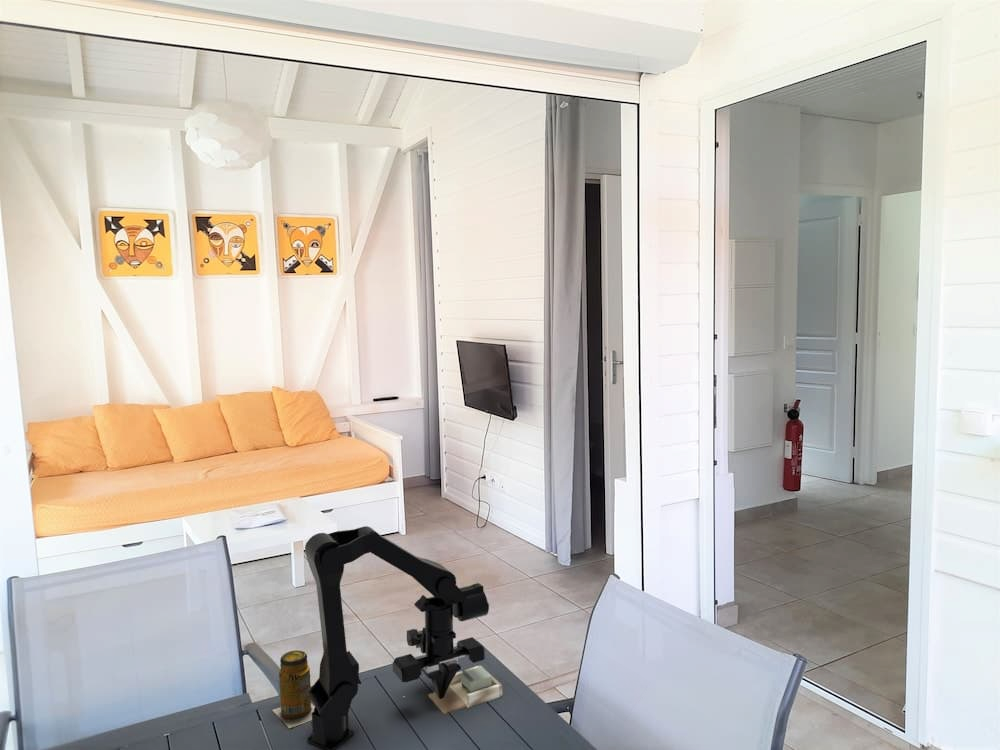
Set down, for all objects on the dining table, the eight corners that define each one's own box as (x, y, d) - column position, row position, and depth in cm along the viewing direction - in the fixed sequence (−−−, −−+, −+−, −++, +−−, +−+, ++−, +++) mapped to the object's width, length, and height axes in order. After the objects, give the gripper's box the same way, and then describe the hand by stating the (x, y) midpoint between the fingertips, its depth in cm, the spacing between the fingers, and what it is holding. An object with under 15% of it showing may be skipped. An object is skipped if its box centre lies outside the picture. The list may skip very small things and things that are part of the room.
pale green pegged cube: (470, 696, 151) (470, 680, 151) (460, 686, 155) (460, 669, 155) (491, 689, 154) (491, 673, 153) (481, 679, 158) (480, 663, 157)
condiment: (305, 698, 153) (302, 644, 152) (323, 715, 147) (320, 659, 145) (272, 711, 148) (268, 655, 147) (289, 729, 142) (285, 672, 141)
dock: (445, 717, 146) (445, 703, 145) (426, 695, 154) (425, 682, 153) (502, 698, 152) (502, 685, 152) (480, 677, 160) (480, 665, 160)
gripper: (462, 601, 160) (463, 669, 162) (382, 621, 151) (384, 692, 152) (486, 621, 150) (487, 692, 152) (402, 643, 141) (404, 718, 143)
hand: (440, 697), depth 150 cm, fingers closed
